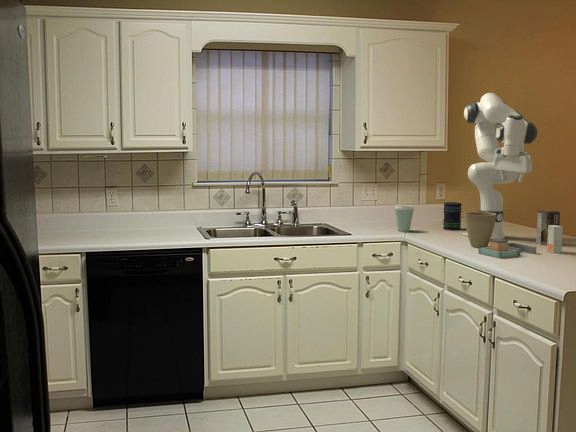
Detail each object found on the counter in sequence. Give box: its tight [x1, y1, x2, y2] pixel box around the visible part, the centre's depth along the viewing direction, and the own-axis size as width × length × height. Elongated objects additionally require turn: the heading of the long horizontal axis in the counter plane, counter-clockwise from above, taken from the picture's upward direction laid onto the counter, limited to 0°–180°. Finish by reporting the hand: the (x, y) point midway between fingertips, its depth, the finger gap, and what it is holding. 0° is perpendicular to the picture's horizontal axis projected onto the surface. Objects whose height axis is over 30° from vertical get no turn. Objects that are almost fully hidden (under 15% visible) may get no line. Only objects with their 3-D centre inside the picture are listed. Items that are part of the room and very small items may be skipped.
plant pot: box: [463, 211, 496, 249], centre depth 318 cm, size 15×15×16 cm
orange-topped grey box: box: [488, 238, 509, 252], centre depth 297 cm, size 5×6×6 cm
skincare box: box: [546, 225, 564, 254], centre depth 304 cm, size 6×4×12 cm
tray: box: [478, 246, 519, 259], centre depth 297 cm, size 13×11×2 cm
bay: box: [508, 242, 537, 257], centre depth 304 cm, size 15×11×3 cm
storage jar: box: [442, 201, 462, 232], centre depth 378 cm, size 10×10×15 cm
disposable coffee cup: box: [394, 203, 415, 233], centre depth 370 cm, size 11×11×15 cm
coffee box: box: [535, 210, 561, 246], centre depth 327 cm, size 9×6×16 cm
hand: (511, 181), depth 308 cm, fingers open, 8 cm apart
